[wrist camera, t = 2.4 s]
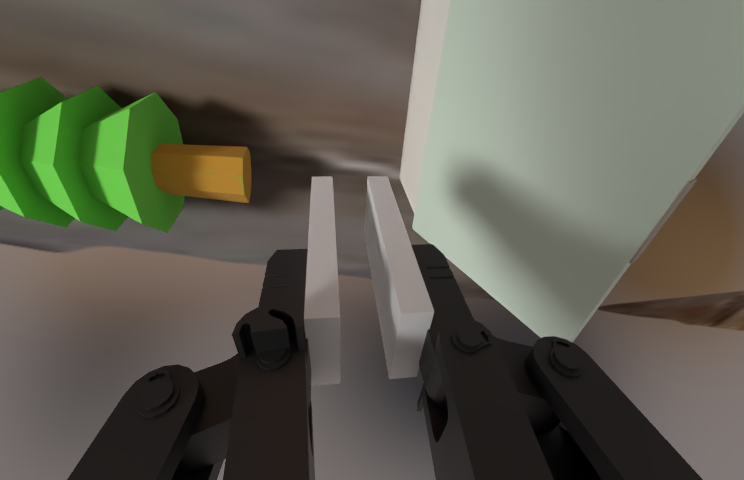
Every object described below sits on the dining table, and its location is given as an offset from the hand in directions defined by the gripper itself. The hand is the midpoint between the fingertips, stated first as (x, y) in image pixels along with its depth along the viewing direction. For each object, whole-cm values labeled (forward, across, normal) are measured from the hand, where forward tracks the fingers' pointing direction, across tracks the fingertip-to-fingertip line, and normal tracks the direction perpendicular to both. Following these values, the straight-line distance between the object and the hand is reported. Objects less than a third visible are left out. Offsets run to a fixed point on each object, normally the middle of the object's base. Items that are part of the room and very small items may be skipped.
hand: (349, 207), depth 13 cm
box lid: (+5, +10, 0) cm, 11 cm away
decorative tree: (+21, -22, -4) cm, 31 cm away
